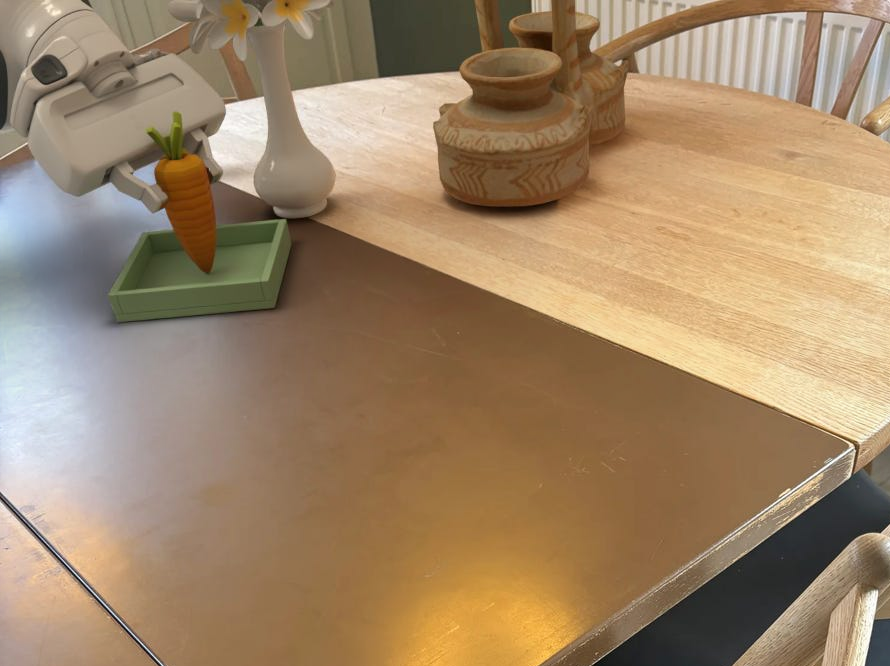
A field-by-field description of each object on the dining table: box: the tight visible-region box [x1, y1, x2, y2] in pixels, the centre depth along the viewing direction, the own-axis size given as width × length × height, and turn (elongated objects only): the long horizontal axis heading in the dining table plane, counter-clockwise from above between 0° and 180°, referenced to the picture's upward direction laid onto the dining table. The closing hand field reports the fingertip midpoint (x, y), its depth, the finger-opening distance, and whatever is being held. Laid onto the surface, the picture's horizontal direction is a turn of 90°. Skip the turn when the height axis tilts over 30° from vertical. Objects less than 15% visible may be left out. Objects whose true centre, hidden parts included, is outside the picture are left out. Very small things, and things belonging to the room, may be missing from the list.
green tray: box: [108, 218, 292, 323], centre depth 104 cm, size 16×16×3 cm
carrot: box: [146, 111, 217, 274], centre depth 99 cm, size 5×5×15 cm
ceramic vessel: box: [432, 0, 630, 207], centre depth 114 cm, size 34×18×25 cm, turn 162°
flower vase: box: [167, 0, 337, 220], centre depth 109 cm, size 13×18×25 cm
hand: (189, 192), depth 98 cm, fingers open, 6 cm apart
